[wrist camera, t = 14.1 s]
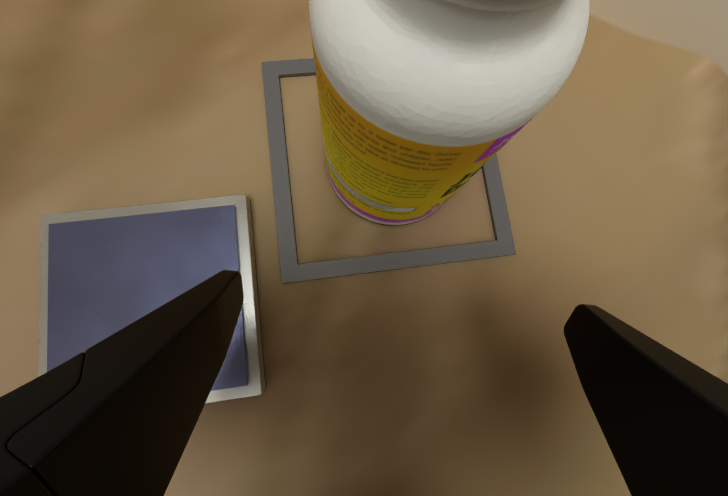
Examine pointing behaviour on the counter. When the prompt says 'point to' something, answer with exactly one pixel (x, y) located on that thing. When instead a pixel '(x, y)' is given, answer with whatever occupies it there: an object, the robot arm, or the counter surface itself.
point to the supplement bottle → (431, 91)
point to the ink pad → (146, 277)
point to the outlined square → (374, 262)
